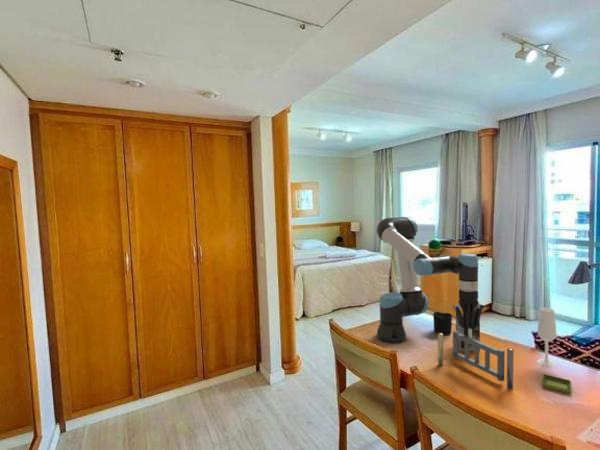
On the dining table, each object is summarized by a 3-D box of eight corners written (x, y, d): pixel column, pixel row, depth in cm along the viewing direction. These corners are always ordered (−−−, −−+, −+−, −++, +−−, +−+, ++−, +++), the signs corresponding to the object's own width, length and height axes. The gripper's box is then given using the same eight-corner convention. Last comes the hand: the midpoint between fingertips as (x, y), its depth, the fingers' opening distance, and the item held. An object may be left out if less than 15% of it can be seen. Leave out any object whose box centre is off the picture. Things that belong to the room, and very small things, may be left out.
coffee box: (474, 345, 162) (474, 313, 161) (480, 351, 155) (480, 318, 154) (455, 345, 162) (455, 313, 162) (460, 351, 156) (460, 318, 155)
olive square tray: (543, 378, 131) (543, 373, 131) (571, 385, 125) (571, 380, 125) (541, 388, 124) (541, 383, 124) (571, 396, 119) (571, 390, 118)
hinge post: (506, 387, 125) (506, 349, 124) (507, 385, 126) (508, 347, 125) (512, 389, 123) (512, 351, 122) (513, 387, 125) (514, 349, 124)
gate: (504, 380, 127) (504, 350, 126) (501, 381, 126) (501, 351, 125) (456, 356, 148) (456, 330, 147) (453, 357, 147) (453, 331, 146)
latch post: (437, 364, 143) (437, 333, 143) (439, 363, 145) (439, 332, 144) (442, 366, 142) (441, 335, 141) (443, 364, 143) (443, 333, 143)
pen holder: (442, 327, 186) (441, 310, 185) (455, 333, 177) (455, 315, 176) (429, 330, 182) (429, 313, 181) (443, 336, 173) (443, 318, 173)
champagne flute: (536, 358, 147) (537, 306, 145) (555, 361, 143) (556, 308, 142) (537, 364, 141) (537, 310, 140) (556, 368, 138) (557, 312, 136)
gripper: (458, 292, 137) (459, 347, 138) (488, 290, 138) (488, 345, 139) (449, 288, 144) (449, 340, 146) (477, 286, 145) (477, 338, 147)
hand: (468, 342), depth 142 cm, fingers closed
